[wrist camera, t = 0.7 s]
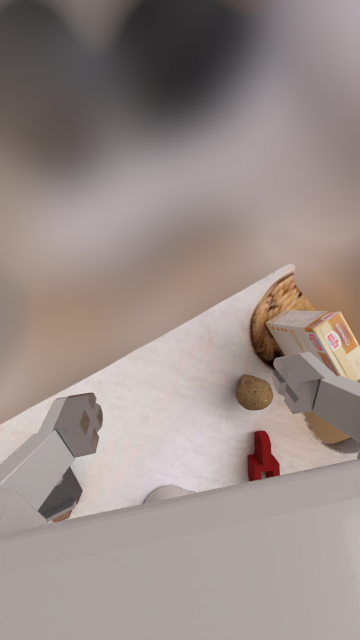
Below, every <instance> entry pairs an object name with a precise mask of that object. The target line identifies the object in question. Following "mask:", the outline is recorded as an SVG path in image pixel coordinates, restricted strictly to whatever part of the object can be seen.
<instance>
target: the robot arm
mask: <svg viewBox="0 0 360 640" xmlns="http://www.w3.org/2000/svg"><path fill="white" fill-rule="evenodd" d="M273 365H274V367H275V368H276V369H275V370H274V371H273V375H272V379H273V383H274V386H275V388H276V390H277V391H278V393H279V394H281V395H283V396H285V398H284V402H285V403H286V405H287V406H288V408H289V409H290V411H291V412H292V414H296V413H302V412H308V411H313V412H314V413H315V414H317V415H318V416H320V417H321V418H323V419H324V420H326V421H327V422H329V423H330V424H332V425H333V426H335V427H336V428H338V429H339V430H341V431H342V432H344V433H345V434H347V435H349V436H350V437H351V438H353V439H355V440H356V441H358V442H359V443H360V383H358V382H355V381H353V380H350V379H348V378H345V377H343V376H336V375H335V374H334V373H333V372H332V371H331V370H330V369H329V368H327V367H326V366H325V365H324V364H323V363H322V362H321V361H320V360H319V359H318V358H317V357H315V356H314V355H313V354H312V353H311V352H304V353H299V354H294V355H289V356H284V357H279V358H275V360H274V364H273ZM95 402H96V396H95V394H94V393H85V394H79V395H73V396H68V397H62V398H57V399H56V400H54V402H53V404H52V406H51V408H50V410H49V412H48V414H47V416H46V418H45V420H44V422H43V424H42V426H41V428H40V430H39V432H38V434H34V435H33V436H31V437H30V438H29V439H28V440H27V441H26V442H25V443H24V444H23V445H21V446H20V447H19V448H18V449H17V450H16V451H15V452H14V453H13V454H11V455H10V456H9V457H8V458H7V459H6V460H5V461H4V462H3V463H2V464H0V640H360V451H359V453H358V456H357V458H358V459H357V460H352V461H347V462H342V463H338V464H333V465H328V466H323V467H318V468H313V469H309V470H304V471H299V472H294V473H289V474H285V475H280V476H275V477H270V478H265V479H261V480H256V481H251V482H246V483H241V484H237V485H232V486H227V487H222V488H217V489H212V490H208V491H203V492H198V493H196V492H193V491H185V490H183V489H181V488H179V487H175V486H164V487H161V488H158V489H156V490H154V491H153V492H152V493H151V494H150V495H149V496H148V497H147V498H146V500H145V501H144V504H141V505H136V506H131V507H126V508H121V509H117V510H112V511H107V512H102V513H98V514H93V515H88V516H83V517H78V518H74V519H69V520H64V521H59V522H54V523H50V524H47V520H46V519H45V518H44V517H43V516H42V515H41V514H40V513H39V512H38V509H39V508H40V507H41V505H42V504H43V502H44V501H45V500H46V498H47V497H48V495H49V494H50V493H51V491H52V490H53V488H54V487H55V486H56V484H57V483H58V482H59V480H60V479H61V477H62V476H63V475H64V473H65V472H66V470H67V469H68V468H69V466H70V465H71V463H72V462H73V461H74V459H75V457H80V456H84V455H89V454H93V453H96V449H97V444H98V440H99V436H98V434H97V432H98V431H99V429H100V428H101V427H102V422H103V413H102V409H101V407H100V405H99V404H97V403H95Z"/></svg>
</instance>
